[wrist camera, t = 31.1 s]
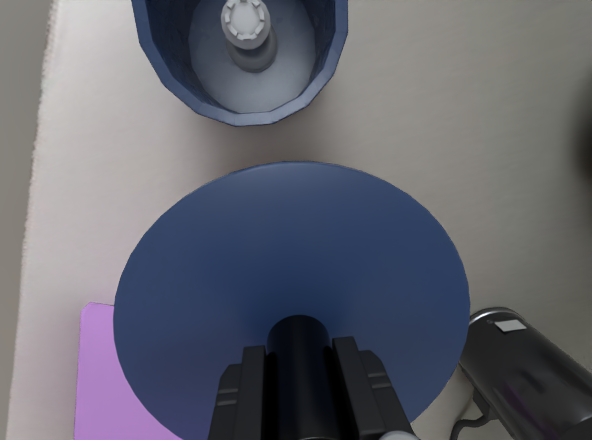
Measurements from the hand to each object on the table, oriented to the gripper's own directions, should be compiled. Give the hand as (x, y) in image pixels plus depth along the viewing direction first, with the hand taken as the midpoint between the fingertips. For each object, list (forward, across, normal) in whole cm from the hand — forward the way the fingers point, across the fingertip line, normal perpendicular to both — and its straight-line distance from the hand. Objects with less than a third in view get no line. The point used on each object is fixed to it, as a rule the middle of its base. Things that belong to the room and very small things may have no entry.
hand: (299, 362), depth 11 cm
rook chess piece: (+22, +1, -14) cm, 27 cm away
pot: (+23, +1, -14) cm, 27 cm away
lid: (+2, 0, 0) cm, 2 cm away
